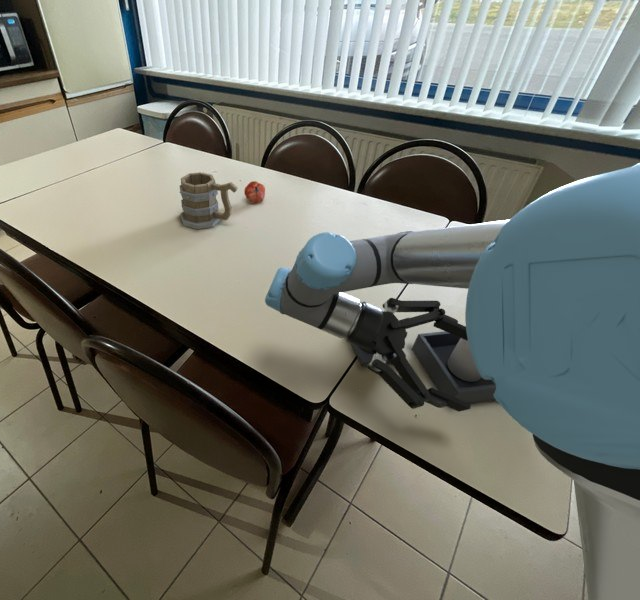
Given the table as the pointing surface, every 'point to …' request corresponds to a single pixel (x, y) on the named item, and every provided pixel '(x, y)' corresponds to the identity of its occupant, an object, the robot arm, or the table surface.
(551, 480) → the table surface
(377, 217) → the table surface
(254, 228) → the table surface
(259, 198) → the pomegranate
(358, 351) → the panel
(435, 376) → the basket
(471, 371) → the coffee cup
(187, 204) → the tankard
